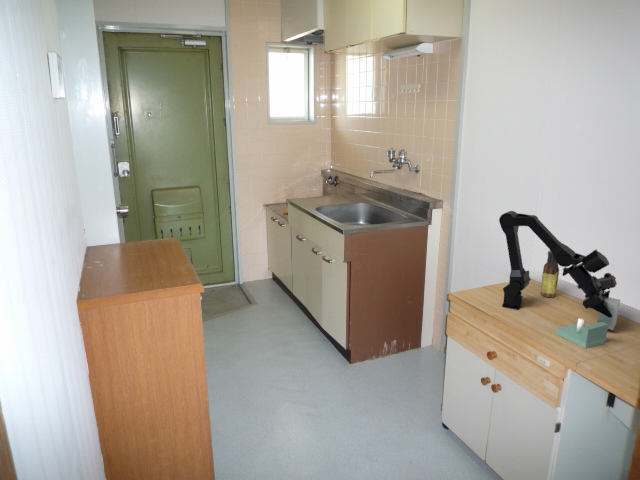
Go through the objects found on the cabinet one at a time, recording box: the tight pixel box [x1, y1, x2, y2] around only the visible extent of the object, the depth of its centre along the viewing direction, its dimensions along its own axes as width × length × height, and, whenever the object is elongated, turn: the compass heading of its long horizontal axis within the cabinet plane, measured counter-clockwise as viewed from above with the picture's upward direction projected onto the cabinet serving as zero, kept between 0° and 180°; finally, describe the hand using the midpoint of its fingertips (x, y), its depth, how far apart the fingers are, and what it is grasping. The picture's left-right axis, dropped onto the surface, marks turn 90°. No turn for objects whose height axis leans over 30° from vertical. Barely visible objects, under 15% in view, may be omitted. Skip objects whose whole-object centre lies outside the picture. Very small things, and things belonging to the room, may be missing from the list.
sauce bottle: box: [540, 250, 560, 299], centre depth 202 cm, size 6×6×20 cm
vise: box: [554, 317, 609, 349], centre depth 165 cm, size 12×10×7 cm
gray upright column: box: [596, 296, 621, 331], centre depth 171 cm, size 5×5×10 cm
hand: (612, 314), depth 170 cm, fingers closed on gray upright column, 5 cm apart
